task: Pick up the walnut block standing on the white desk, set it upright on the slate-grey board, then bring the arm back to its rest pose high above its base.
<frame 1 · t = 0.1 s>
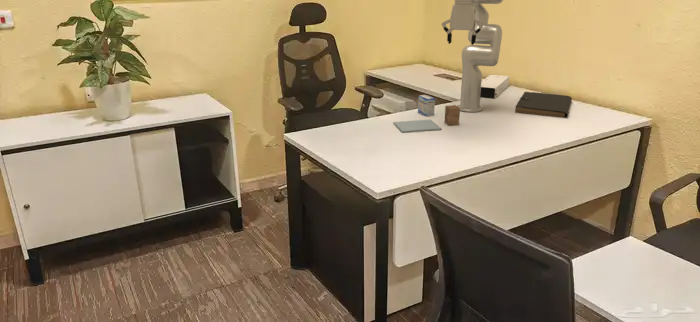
hand: (461, 43, 225), 37 cm above the table, tool pointing down, fingers open, 9 cm apart
walnut block: (451, 123, 244), on the table
medicine box: (425, 114, 260), on the table
slate board: (416, 126, 240), on the table
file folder: (543, 108, 270), on the table
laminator: (492, 92, 301), on the table
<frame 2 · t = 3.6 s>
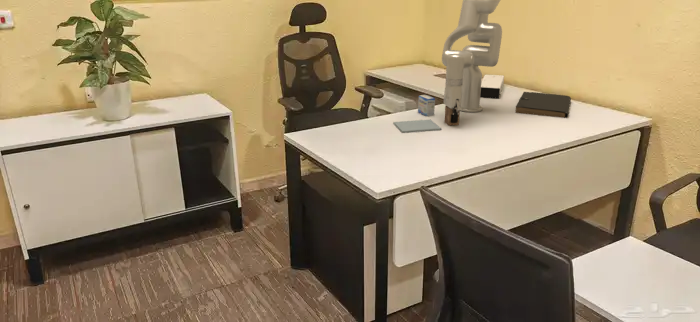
hand: (451, 120, 244), 1 cm above the table, tool pointing down, fingers closed on walnut block, 5 cm apart
walnut block: (451, 123, 244), on the table, touching gripper
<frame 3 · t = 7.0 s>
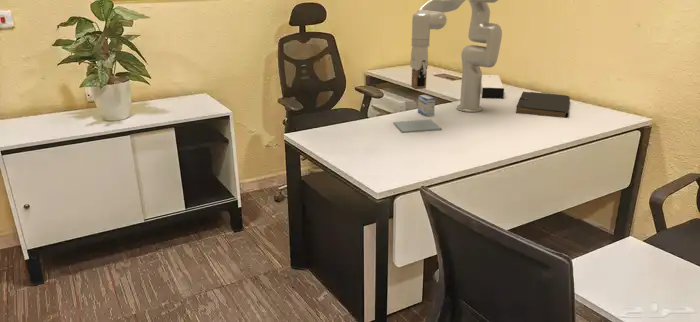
hand: (418, 84, 233), 19 cm above the table, tool pointing down, fingers closed on walnut block, 5 cm apart
walnut block: (418, 87, 234), point 18 cm above the table, touching gripper
when the fingers open (3 cm above the table, at t = 10.5 s): walnut block stays where it is, resting on slate board.
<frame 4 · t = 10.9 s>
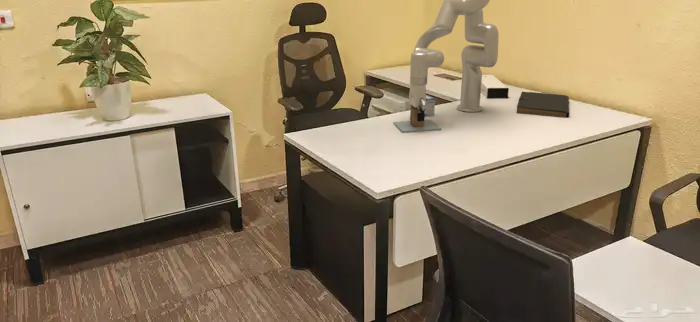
hand: (417, 118, 239), 4 cm above the table, tool pointing down, fingers open, 9 cm apart
walnut block: (417, 125, 240), point 1 cm above the table, touching slate board
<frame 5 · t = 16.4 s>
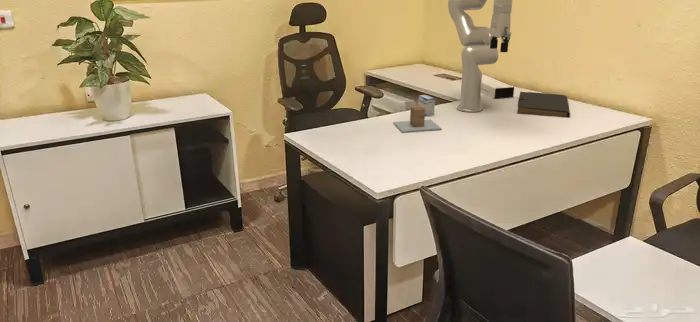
hand: (498, 50, 232), 33 cm above the table, tool pointing down, fingers open, 9 cm apart
at the end: walnut block inside the target area on the slate board (0.1 cm from its centre), point 0.8 cm above the slate board's base; walnut block tilted 0°; the gripper is holding nothing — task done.
